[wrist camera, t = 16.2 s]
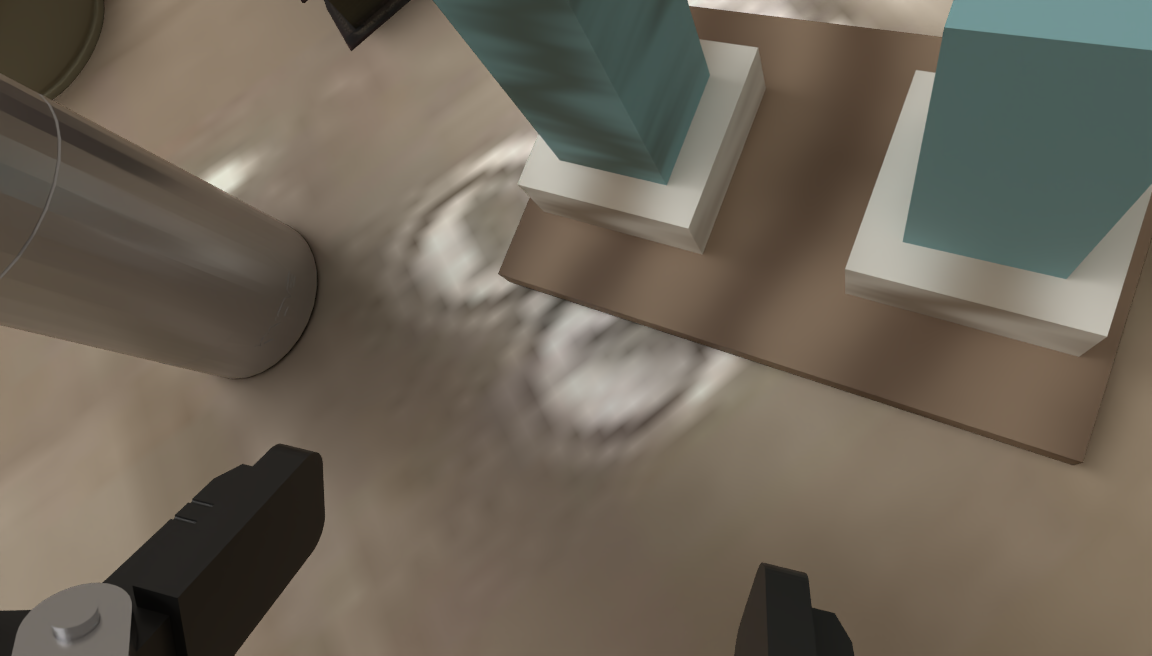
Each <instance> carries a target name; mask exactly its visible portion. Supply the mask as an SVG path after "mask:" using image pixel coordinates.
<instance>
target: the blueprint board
mask: <svg viewBox="0 0 1152 656" xmlns="http://www.w3.org/2000/svg"><path fill="white" fill-rule="evenodd" d="M433 1H434V2H435V4H436V5H437V6H438V8H439V9H440V10H441V11H442V13H443V14H444V15H445V16H446V18H447V19H448V20H449V21H450V23H451V24H452V25H453V26H454V28H455V29H456V30H457V31H458V33H459V34H460V35H461V37H462V38H463V39H464V40H465V42H466V43H467V44H468V45H469V47H470V48H471V49H472V50H473V52H474V53H475V54H476V55H477V57H478V58H479V59H480V60H481V62H482V63H483V64H484V66H485V67H486V68H487V69H488V71H489V72H490V73H491V74H492V76H493V77H494V78H495V79H496V81H497V82H498V83H499V84H500V86H501V87H502V88H503V89H504V91H505V92H506V93H507V94H508V96H509V97H510V98H511V100H512V101H513V102H514V103H515V105H516V106H517V107H518V108H519V110H520V111H521V112H522V113H523V115H524V116H525V117H526V118H527V120H528V121H529V122H530V123H531V125H532V126H533V127H534V129H535V130H536V131H537V132H538V136H537V139H536V141H535V144H534V146H533V148H532V151H531V153H530V155H529V158H528V160H527V163H526V165H525V167H524V170H523V172H522V175H521V177H520V179H519V182H518V186H519V187H520V188H521V189H522V190H523V191H524V192H525V193H526V194H527V195H528V196H529V197H530V199H529V201H528V203H527V206H526V208H525V211H524V213H523V215H522V218H521V220H520V223H519V225H518V227H517V230H516V232H515V235H514V237H513V239H512V242H511V244H510V247H509V249H508V251H507V254H506V256H505V259H504V261H503V264H502V266H501V268H500V271H499V273H498V274H499V275H501V276H502V277H504V278H505V279H506V280H508V281H509V282H512V283H515V284H518V285H522V286H525V287H528V288H531V289H534V290H537V291H540V292H543V293H546V294H549V295H552V296H555V297H558V298H561V299H565V300H568V301H571V302H574V303H577V304H580V305H583V306H586V307H589V308H592V309H595V310H598V311H601V312H604V313H608V314H611V315H614V316H617V317H620V318H623V319H626V320H629V321H632V322H635V323H638V324H641V325H644V326H647V327H651V328H654V329H657V330H660V331H663V332H666V333H669V334H672V335H675V336H678V337H681V338H684V339H687V340H690V341H694V342H697V343H700V344H703V345H706V346H709V347H712V348H715V349H718V350H721V351H724V352H727V353H730V354H733V355H736V356H740V357H743V358H746V359H749V360H752V361H755V362H758V363H761V364H764V365H767V366H770V367H773V368H776V369H779V370H783V371H786V372H789V373H792V374H795V375H798V376H801V377H804V378H807V379H810V380H813V381H816V382H819V383H822V384H826V385H829V386H832V387H835V388H838V389H841V390H844V391H847V392H850V393H853V394H856V395H859V396H862V397H865V398H869V399H872V400H875V401H878V402H881V403H884V404H887V405H890V406H893V407H896V408H899V409H902V410H905V411H908V412H911V413H915V414H918V415H921V416H924V417H927V418H930V419H933V420H936V421H939V422H942V423H945V424H948V425H951V426H954V427H958V428H961V429H964V430H967V431H970V432H973V433H976V434H979V435H982V436H985V437H988V438H991V439H994V440H997V441H1001V442H1004V443H1007V444H1010V445H1013V446H1016V447H1019V448H1022V449H1025V450H1028V451H1031V452H1034V453H1037V454H1040V455H1044V456H1047V457H1050V458H1053V459H1056V460H1059V461H1062V462H1065V463H1068V464H1071V465H1075V464H1079V463H1083V461H1084V457H1085V454H1086V451H1087V448H1088V444H1089V441H1090V438H1091V435H1092V431H1093V428H1094V425H1095V422H1096V418H1097V415H1098V412H1099V408H1100V405H1101V402H1102V399H1103V395H1104V392H1105V389H1106V386H1107V382H1108V379H1109V376H1110V373H1111V369H1112V366H1113V363H1114V360H1115V356H1116V353H1117V350H1118V347H1119V343H1120V340H1121V337H1122V333H1123V330H1124V327H1125V324H1126V320H1127V317H1128V314H1129V311H1130V307H1131V304H1132V301H1133V298H1134V294H1135V291H1136V288H1137V285H1138V281H1139V278H1140V275H1141V272H1142V268H1143V265H1144V262H1145V258H1146V255H1147V252H1148V249H1149V245H1150V242H1151V239H1152V184H1151V185H1150V186H1149V188H1148V189H1147V190H1146V191H1145V192H1144V193H1143V194H1142V195H1141V196H1140V198H1139V199H1138V200H1137V201H1136V202H1135V203H1134V204H1133V205H1132V207H1131V208H1130V209H1129V210H1128V211H1127V212H1126V213H1125V214H1124V215H1123V217H1122V218H1121V219H1120V220H1119V221H1118V222H1117V223H1116V224H1115V225H1114V227H1113V228H1112V229H1111V230H1110V231H1109V232H1108V233H1107V234H1106V236H1105V237H1104V238H1103V239H1102V240H1101V241H1100V242H1099V243H1098V244H1097V246H1096V247H1095V248H1094V249H1093V250H1092V251H1091V252H1090V253H1089V254H1088V256H1087V257H1086V258H1085V259H1084V260H1083V261H1082V262H1081V263H1080V264H1079V266H1078V267H1077V268H1076V269H1075V270H1074V271H1073V272H1072V273H1071V275H1070V276H1069V277H1068V278H1067V279H1063V278H1058V277H1054V276H1050V275H1045V274H1041V273H1036V272H1032V271H1028V270H1023V269H1019V268H1014V267H1010V266H1006V265H1001V264H997V263H992V262H988V261H984V260H979V259H975V258H970V257H966V256H962V255H957V254H953V253H948V252H944V251H940V250H935V249H931V248H926V247H922V246H918V245H913V244H909V243H904V242H903V237H904V231H905V226H906V221H907V216H908V211H909V206H910V201H911V196H912V190H913V185H914V180H915V175H916V170H917V165H918V160H919V155H920V149H921V144H922V139H923V134H924V129H925V124H926V119H927V114H928V108H929V103H930V98H931V93H932V88H933V83H934V78H935V73H936V68H937V62H938V57H939V52H940V47H941V42H942V37H937V36H928V35H920V34H912V33H904V32H896V31H888V30H880V29H871V28H863V27H855V26H847V25H839V24H831V23H823V22H814V21H806V20H798V19H790V18H782V17H774V16H766V15H757V14H749V13H741V12H733V11H725V10H717V9H709V8H700V7H692V6H689V5H688V1H687V0H433Z"/></svg>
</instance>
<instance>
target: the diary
mask: <svg viewBox="0 0 1152 656" xmlns="http://www.w3.org/2000/svg"><path fill="white" fill-rule="evenodd" d="M301 1H302V3H305V2H306V1H308V0H301ZM324 1H325V4H326V7H327V10H328V12H329V13H330V15H331V17H332V19H333V20H334V22H335V24H336V26H337V27H338V29H339V31H340V33H341V34H342V36H343V38H344V40H345V42H346V43H347V45H348V47H349V48H350V50H351V51H352V50H353V49H354V48H355V47H357V46H358V45H359V44H360V43H361V42H362V41H364V40H365V39H366V38H367V37H368V36H369V35H371V34H372V33H373V32H374V31H375V30H376V29H378V28H379V27H380V26H381V25H382V24H383V23H384V22H386V21H387V20H388V19H389V18H390V17H391V16H393V15H394V14H395V13H396V12H397V11H398V10H400V9H401V8H402V7H403V6H404V5H405V4H407V3H408V2H409V1H410V0H324Z"/></svg>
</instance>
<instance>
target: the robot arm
mask: <svg viewBox="0 0 1152 656" xmlns="http://www.w3.org/2000/svg"><path fill="white" fill-rule="evenodd" d="M316 290H317V270H316V266H315V261H314V256H313V254H312V252H311V250H310V248H309V245H308V243H307V242H306V241H305V240H304V238H303V237H302V236H301V235H300V234H299V233H298V232H297V231H295V230H294V229H292V228H291V227H289V226H288V225H286V224H284V223H282V222H280V221H278V220H276V219H275V218H273V217H271V216H269V215H267V214H265V213H263V212H261V211H260V210H258V209H256V208H254V207H252V206H250V205H248V204H246V203H244V202H243V201H241V200H239V199H238V198H236V197H234V196H232V195H230V194H228V193H226V192H224V191H223V190H221V189H219V188H217V187H215V186H213V185H211V184H209V183H207V182H206V181H204V180H202V179H200V178H198V177H196V176H194V175H192V174H190V173H189V172H187V171H185V170H183V169H181V168H179V167H177V166H175V165H173V164H172V163H170V162H168V161H166V160H164V159H162V158H160V157H158V156H156V155H155V154H153V153H151V152H149V151H147V150H145V149H143V148H141V147H139V146H138V145H136V144H134V143H132V142H130V141H128V140H126V139H124V138H122V137H121V136H119V135H117V134H115V133H113V132H111V131H109V130H107V129H105V128H104V127H102V126H100V125H98V124H96V123H94V122H92V121H90V120H88V119H87V118H85V117H83V116H81V115H79V114H77V113H75V112H73V111H71V110H70V109H68V108H66V107H64V106H62V105H60V104H58V103H56V102H54V101H53V100H51V99H49V98H47V97H45V96H43V95H41V94H39V93H37V92H35V91H33V90H31V89H29V88H27V87H25V86H23V85H22V84H20V83H18V82H16V81H14V80H12V79H10V78H8V77H6V76H5V75H3V74H1V73H0V325H2V326H6V327H11V328H15V329H19V330H24V331H28V332H32V333H36V334H41V335H45V336H49V337H53V338H58V339H62V340H66V341H71V342H75V343H79V344H83V345H88V346H92V347H96V348H101V349H105V350H109V351H113V352H118V353H122V354H126V355H130V356H135V357H139V358H143V359H148V360H152V361H156V362H160V363H163V364H168V365H172V366H176V367H181V368H185V369H189V370H194V371H198V372H202V373H207V374H211V375H215V376H220V377H225V378H231V379H238V378H247V377H250V376H253V375H256V374H259V373H261V372H263V371H265V370H266V369H268V368H270V367H271V366H273V365H275V364H276V363H277V362H278V361H279V360H280V359H281V358H282V357H284V356H285V355H286V354H287V353H288V352H289V351H290V349H291V348H292V347H293V345H294V344H295V343H296V342H297V340H298V339H299V338H300V336H301V334H302V332H303V330H304V328H305V327H306V325H307V323H308V320H309V318H310V315H311V312H312V309H313V306H314V301H315V296H316ZM324 521H325V507H324V483H323V462H322V457H321V455H320V454H319V453H317V452H313V451H309V450H305V449H300V448H296V447H292V446H288V445H284V444H277V445H275V446H273V447H272V448H271V449H270V450H269V451H268V452H267V453H266V454H265V455H264V456H263V457H262V458H261V459H260V460H259V461H258V462H257V463H256V464H255V465H254V466H253V467H252V466H248V465H244V464H242V465H240V466H238V467H236V468H234V469H232V470H230V471H228V472H226V473H224V474H222V475H220V476H218V477H216V478H214V479H213V480H212V481H211V482H210V483H209V484H208V485H207V486H206V487H204V488H203V489H202V490H201V491H200V492H199V493H198V494H197V495H196V496H195V497H194V498H193V500H192V502H191V503H187V504H186V505H185V506H184V507H183V508H182V509H181V510H180V511H179V512H178V513H177V514H176V515H175V518H174V519H173V520H172V519H170V520H169V521H168V522H167V523H166V524H165V525H164V526H163V527H162V528H161V529H160V530H159V531H157V532H156V533H155V534H154V535H153V536H152V537H151V538H150V539H149V540H148V541H147V542H146V543H145V544H144V545H143V546H141V547H140V548H139V549H138V550H137V551H136V552H135V553H134V554H133V555H132V556H131V557H130V558H129V559H128V560H127V561H125V562H124V563H123V564H122V565H121V566H120V567H119V568H118V569H117V570H116V571H115V572H114V573H113V574H112V575H111V576H109V577H108V578H107V579H106V580H105V581H104V582H103V583H89V584H82V585H78V586H74V587H71V588H68V589H65V590H63V591H60V592H58V593H56V594H54V595H52V596H50V597H49V598H47V599H45V600H44V601H42V602H41V603H40V604H38V605H37V606H36V607H35V608H33V609H32V610H17V611H0V656H234V655H235V654H236V652H237V651H238V650H239V648H240V647H241V646H242V644H243V643H244V642H245V640H246V639H247V638H248V636H249V635H250V634H251V632H252V631H253V630H254V629H255V627H256V626H257V625H258V623H259V622H260V621H261V619H262V618H263V617H264V615H265V614H266V613H267V611H268V610H269V609H270V607H271V606H272V605H273V603H274V602H275V601H276V599H277V598H278V597H279V595H280V594H281V593H282V592H283V590H284V589H285V588H286V586H287V585H288V584H289V582H290V581H291V580H292V578H293V577H294V576H295V574H296V573H297V572H298V570H299V569H300V568H301V566H302V565H303V564H304V562H305V561H306V560H307V558H308V557H309V556H310V555H311V553H312V552H313V550H314V549H315V547H316V545H317V543H318V541H319V539H320V537H321V534H322V531H323V527H324ZM734 656H854V652H853V646H852V642H851V640H850V638H849V637H848V635H847V633H846V632H845V630H844V628H843V627H842V625H841V623H840V622H839V620H838V618H837V617H836V615H835V613H831V612H827V611H823V610H819V609H815V608H812V607H811V598H810V589H809V581H808V576H807V574H806V573H803V572H799V571H795V570H791V569H787V568H783V567H779V566H775V565H771V564H767V563H761V564H760V566H759V568H758V570H757V573H756V576H755V579H754V583H753V586H752V589H751V592H750V595H749V598H748V601H747V604H746V607H745V610H744V613H743V616H742V619H741V622H740V626H739V630H738V634H737V639H736V646H735V654H734Z"/></svg>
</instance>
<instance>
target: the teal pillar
mask: <svg viewBox="0 0 1152 656" xmlns="http://www.w3.org/2000/svg"><path fill="white" fill-rule="evenodd" d="M1151 184H1152V0H954V1H953V4H952V7H951V9H950V12H949V15H948V18H947V21H946V24H945V27H944V32H943V37H942V42H941V47H940V52H939V57H938V62H937V68H936V73H935V78H934V83H933V88H932V93H931V98H930V103H929V108H928V114H927V119H926V124H925V129H924V134H923V139H922V144H921V149H920V155H919V160H918V165H917V170H916V175H915V180H914V185H913V190H912V196H911V201H910V206H909V211H908V216H907V221H906V226H905V231H904V237H903V242H904V243H909V244H913V245H918V246H922V247H926V248H931V249H935V250H940V251H944V252H948V253H953V254H957V255H962V256H966V257H970V258H975V259H979V260H984V261H988V262H992V263H997V264H1001V265H1006V266H1010V267H1014V268H1019V269H1023V270H1028V271H1032V272H1036V273H1041V274H1045V275H1050V276H1054V277H1058V278H1063V279H1067V278H1068V277H1069V276H1070V275H1071V273H1072V272H1073V271H1074V270H1075V269H1076V268H1077V267H1078V266H1079V264H1080V263H1081V262H1082V261H1083V260H1084V259H1085V258H1086V257H1087V256H1088V254H1089V253H1090V252H1091V251H1092V250H1093V249H1094V248H1095V247H1096V246H1097V244H1098V243H1099V242H1100V241H1101V240H1102V239H1103V238H1104V237H1105V236H1106V234H1107V233H1108V232H1109V231H1110V230H1111V229H1112V228H1113V227H1114V225H1115V224H1116V223H1117V222H1118V221H1119V220H1120V219H1121V218H1122V217H1123V215H1124V214H1125V213H1126V212H1127V211H1128V210H1129V209H1130V208H1131V207H1132V205H1133V204H1134V203H1135V202H1136V201H1137V200H1138V199H1139V198H1140V196H1141V195H1142V194H1143V193H1144V192H1145V191H1146V190H1147V189H1148V188H1149V186H1150V185H1151Z"/></svg>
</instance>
